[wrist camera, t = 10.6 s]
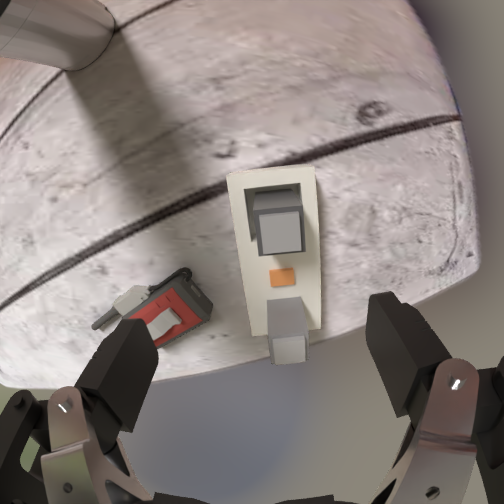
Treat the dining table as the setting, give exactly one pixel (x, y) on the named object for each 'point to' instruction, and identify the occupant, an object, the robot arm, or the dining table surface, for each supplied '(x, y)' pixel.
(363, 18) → the dining table surface
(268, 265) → the power strip
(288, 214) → the plug
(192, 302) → the walkie-talkie
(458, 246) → the dining table surface
